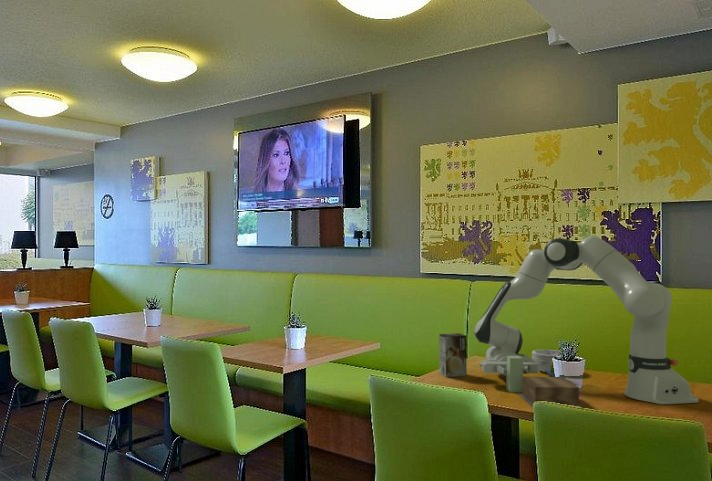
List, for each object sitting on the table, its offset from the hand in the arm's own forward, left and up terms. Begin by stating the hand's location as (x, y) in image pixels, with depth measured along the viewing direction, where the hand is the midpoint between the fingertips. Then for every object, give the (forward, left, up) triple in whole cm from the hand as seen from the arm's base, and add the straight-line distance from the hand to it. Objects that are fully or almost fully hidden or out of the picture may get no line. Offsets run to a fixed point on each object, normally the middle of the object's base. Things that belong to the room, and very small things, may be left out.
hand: (515, 371), depth 201 cm
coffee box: (+18, -24, -7) cm, 31 cm away
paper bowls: (-24, -32, -7) cm, 41 cm away
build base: (-8, +12, -7) cm, 16 cm away
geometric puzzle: (-20, -16, -7) cm, 27 cm away
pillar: (0, -1, -7) cm, 7 cm away
